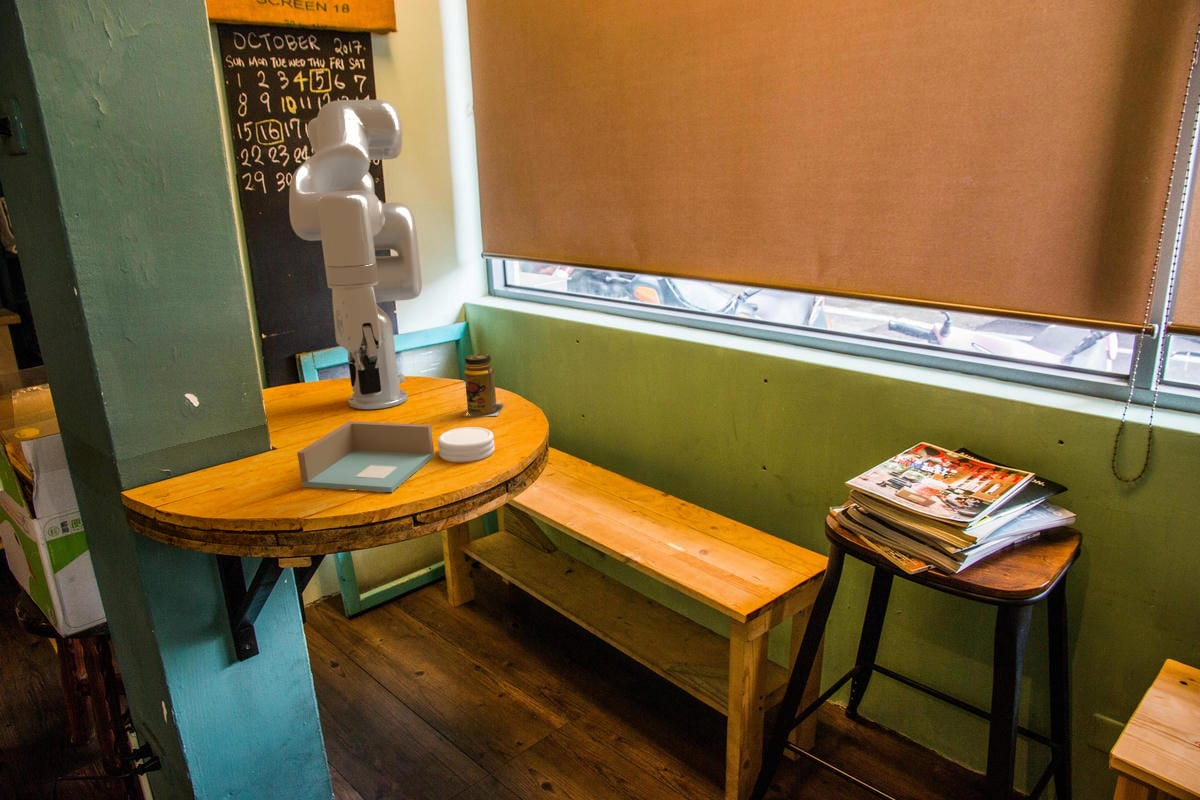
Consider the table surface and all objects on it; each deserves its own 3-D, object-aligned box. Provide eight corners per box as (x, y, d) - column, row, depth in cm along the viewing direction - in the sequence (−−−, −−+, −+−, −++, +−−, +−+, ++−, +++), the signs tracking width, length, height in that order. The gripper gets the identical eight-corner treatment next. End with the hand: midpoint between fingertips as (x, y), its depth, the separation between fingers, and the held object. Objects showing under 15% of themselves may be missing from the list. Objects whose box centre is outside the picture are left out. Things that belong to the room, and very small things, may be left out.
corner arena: (353, 452, 142) (349, 421, 140) (434, 456, 138) (431, 424, 137) (302, 486, 127) (297, 452, 125) (391, 493, 124) (387, 457, 122)
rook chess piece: (369, 391, 129) (363, 344, 126) (387, 395, 126) (381, 346, 124) (347, 398, 125) (340, 349, 123) (365, 402, 123) (358, 352, 120)
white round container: (442, 445, 145) (440, 427, 144) (496, 442, 145) (494, 424, 144) (435, 465, 135) (433, 446, 134) (493, 462, 136) (491, 443, 135)
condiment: (462, 417, 160) (457, 360, 156) (471, 405, 168) (466, 350, 164) (497, 416, 160) (493, 360, 156) (504, 404, 168) (500, 350, 164)
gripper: (314, 273, 125) (329, 382, 130) (341, 284, 111) (357, 406, 117) (361, 268, 129) (374, 375, 134) (393, 279, 115) (406, 397, 120)
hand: (366, 388), depth 125 cm, fingers closed on rook chess piece, 4 cm apart
